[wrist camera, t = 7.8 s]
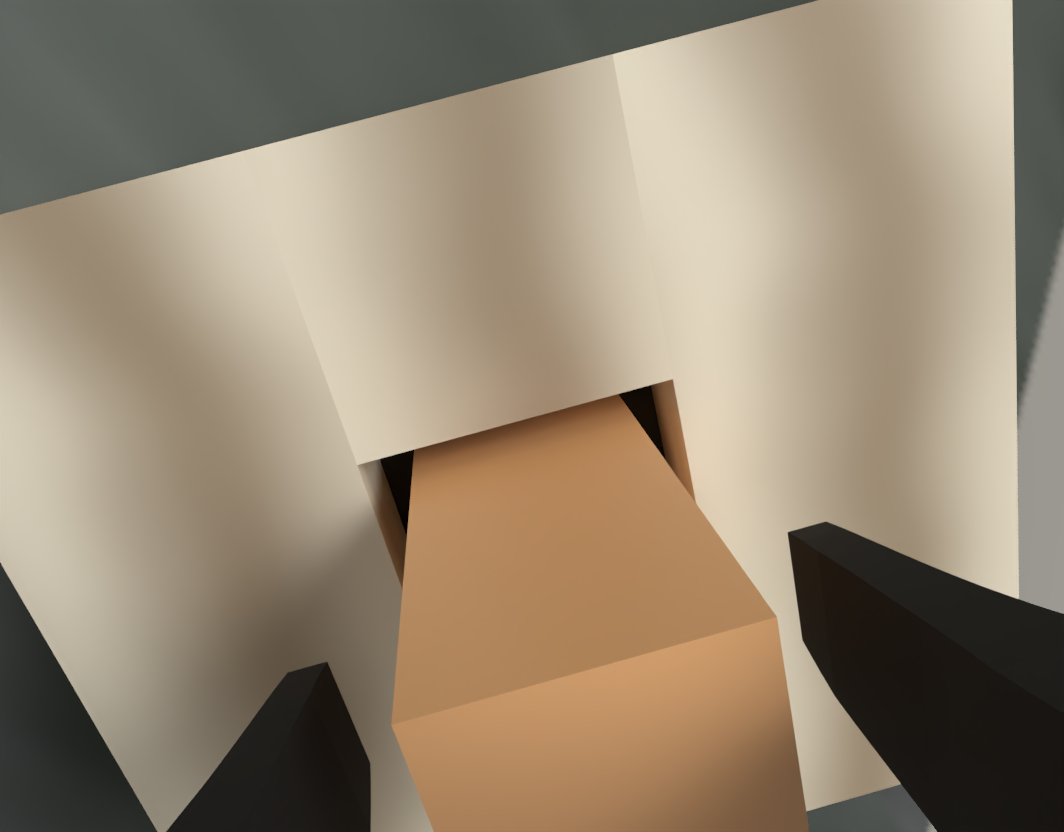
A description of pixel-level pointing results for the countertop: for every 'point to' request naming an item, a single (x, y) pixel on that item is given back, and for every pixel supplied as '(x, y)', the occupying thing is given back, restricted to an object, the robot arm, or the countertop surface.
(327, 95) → the countertop surface
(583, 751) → the orange rectangular block
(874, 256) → the holder plate
